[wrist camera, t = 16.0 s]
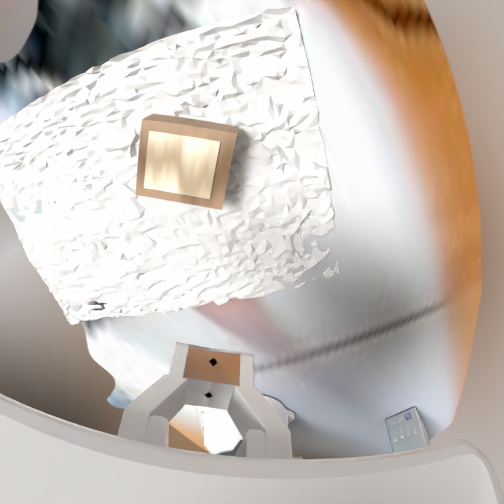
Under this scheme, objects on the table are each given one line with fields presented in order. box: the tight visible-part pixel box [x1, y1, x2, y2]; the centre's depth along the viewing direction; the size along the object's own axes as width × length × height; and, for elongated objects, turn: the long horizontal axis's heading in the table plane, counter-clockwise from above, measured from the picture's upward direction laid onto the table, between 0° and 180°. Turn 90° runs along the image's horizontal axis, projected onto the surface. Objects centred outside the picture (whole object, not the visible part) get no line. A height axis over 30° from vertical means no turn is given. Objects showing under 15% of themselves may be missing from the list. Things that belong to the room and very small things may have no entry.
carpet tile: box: [0, 7, 340, 325], centre depth 32 cm, size 39×30×2 cm
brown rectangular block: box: [136, 114, 239, 210], centre depth 27 cm, size 7×3×8 cm
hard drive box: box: [385, 407, 431, 453], centre depth 54 cm, size 16×8×20 cm, turn 35°
